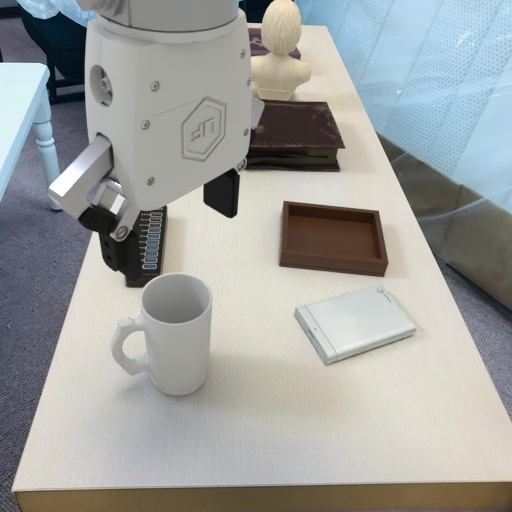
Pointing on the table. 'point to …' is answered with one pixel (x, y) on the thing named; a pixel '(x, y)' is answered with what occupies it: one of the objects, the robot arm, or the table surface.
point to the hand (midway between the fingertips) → (175, 237)
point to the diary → (295, 137)
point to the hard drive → (353, 322)
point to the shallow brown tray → (332, 239)
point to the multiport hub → (150, 244)
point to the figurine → (279, 53)
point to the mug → (170, 333)
